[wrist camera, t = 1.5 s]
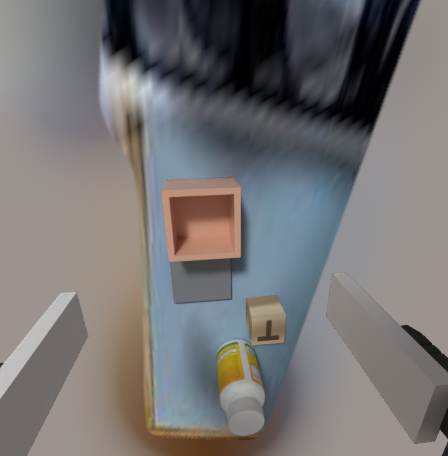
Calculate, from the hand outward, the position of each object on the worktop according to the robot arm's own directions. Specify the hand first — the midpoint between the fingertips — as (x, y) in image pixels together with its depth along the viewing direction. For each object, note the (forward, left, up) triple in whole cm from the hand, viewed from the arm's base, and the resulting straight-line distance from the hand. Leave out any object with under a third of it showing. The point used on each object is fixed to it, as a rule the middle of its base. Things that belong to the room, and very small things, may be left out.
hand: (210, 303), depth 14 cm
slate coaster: (+8, -1, -17) cm, 18 cm away
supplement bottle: (+21, +3, -17) cm, 27 cm away
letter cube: (+14, +7, -17) cm, 23 cm away
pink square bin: (0, 0, -17) cm, 17 cm away
